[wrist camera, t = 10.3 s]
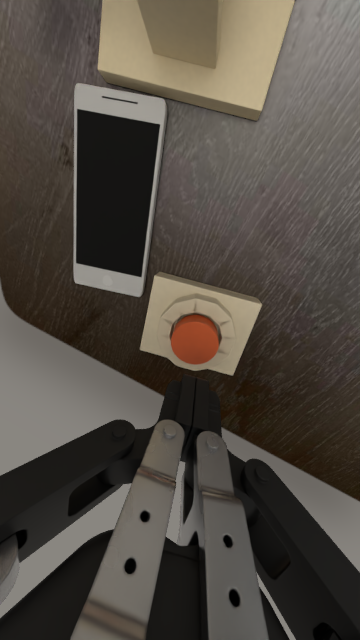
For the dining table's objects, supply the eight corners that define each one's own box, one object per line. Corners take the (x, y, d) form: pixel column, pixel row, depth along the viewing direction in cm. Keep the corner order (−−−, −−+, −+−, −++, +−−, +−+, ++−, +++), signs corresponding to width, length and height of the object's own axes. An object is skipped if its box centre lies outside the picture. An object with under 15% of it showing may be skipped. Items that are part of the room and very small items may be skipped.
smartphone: (77, 281, 23) (72, 283, 22) (80, 88, 17) (73, 80, 16) (143, 295, 23) (141, 298, 22) (169, 105, 17) (167, 98, 16)
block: (145, 340, 25) (134, 359, 21) (159, 271, 22) (149, 278, 18) (230, 364, 25) (234, 387, 21) (257, 297, 22) (267, 311, 18)
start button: (169, 348, 21) (166, 357, 19) (179, 309, 19) (176, 316, 18) (210, 359, 21) (210, 370, 19) (223, 321, 19) (225, 329, 17)
